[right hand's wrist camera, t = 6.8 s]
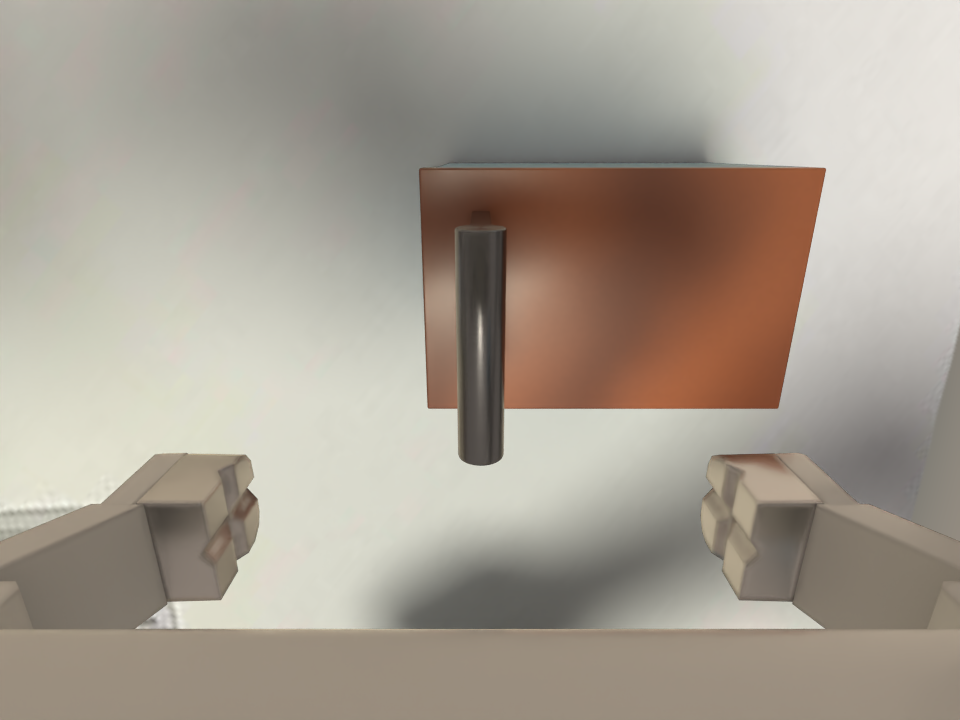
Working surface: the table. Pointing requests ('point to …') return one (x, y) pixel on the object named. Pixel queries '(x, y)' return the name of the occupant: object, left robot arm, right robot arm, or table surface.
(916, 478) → the table surface
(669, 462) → the table surface
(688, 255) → the lid
